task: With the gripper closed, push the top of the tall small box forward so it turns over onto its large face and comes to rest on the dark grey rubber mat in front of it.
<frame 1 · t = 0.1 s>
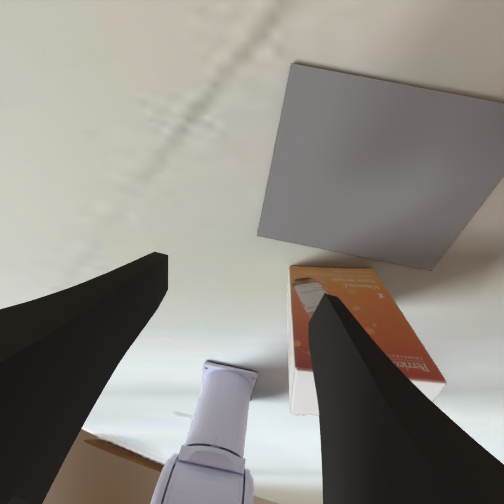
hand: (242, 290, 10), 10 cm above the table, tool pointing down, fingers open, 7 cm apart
mat: (372, 185, 16), on the table
small box: (325, 286, 22), on the table
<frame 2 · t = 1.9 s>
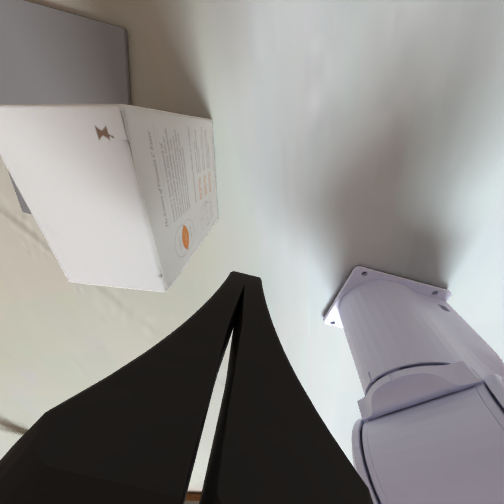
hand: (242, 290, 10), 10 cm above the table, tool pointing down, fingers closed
mat: (64, 141, 17), on the table
small box: (186, 173, 18), on the table
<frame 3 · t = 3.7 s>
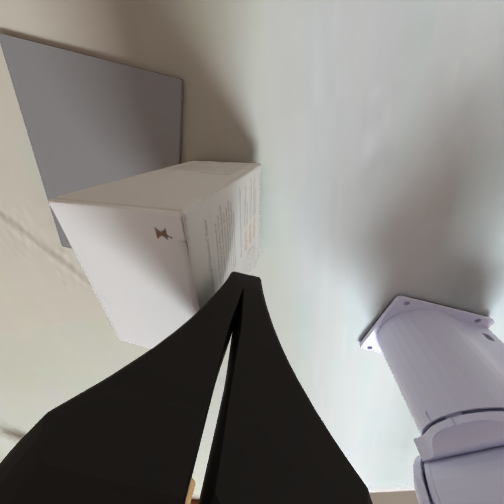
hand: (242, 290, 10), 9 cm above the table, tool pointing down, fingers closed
mat: (110, 181, 18), on the table
small box: (230, 211, 17), on the table
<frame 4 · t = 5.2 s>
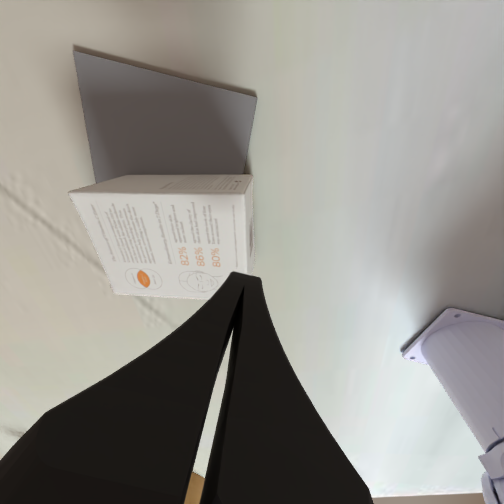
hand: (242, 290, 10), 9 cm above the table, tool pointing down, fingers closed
mat: (167, 195, 18), on the table
steamer basket: (172, 476, 62), on the table
small box: (254, 237, 15), point 3 cm above the table, touching mat
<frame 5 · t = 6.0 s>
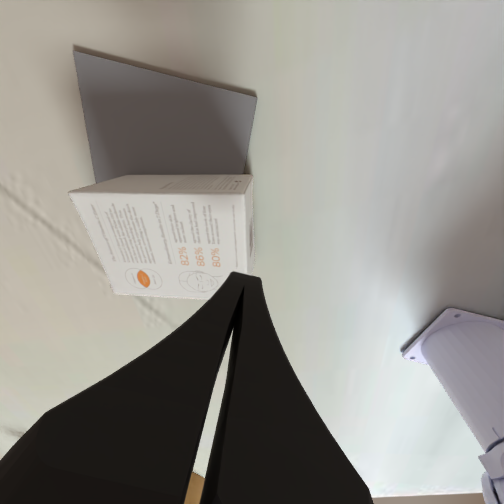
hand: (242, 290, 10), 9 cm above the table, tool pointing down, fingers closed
mat: (167, 195, 18), on the table
steamer basket: (172, 476, 62), on the table
small box: (254, 237, 15), point 3 cm above the table, touching mat
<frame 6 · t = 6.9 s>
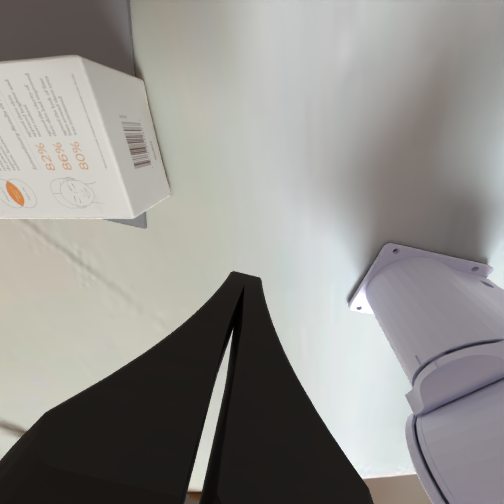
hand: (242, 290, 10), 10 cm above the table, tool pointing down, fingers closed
mat: (62, 116, 16), on the table
small box: (143, 148, 13), point 3 cm above the table, touching mat
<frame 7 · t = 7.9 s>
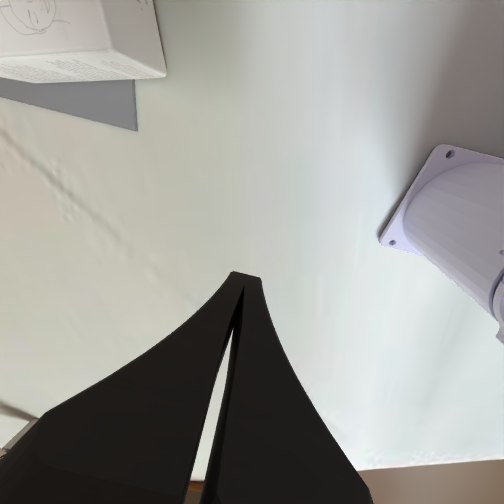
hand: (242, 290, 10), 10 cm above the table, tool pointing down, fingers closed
house plant: (38, 420, 56), on the table
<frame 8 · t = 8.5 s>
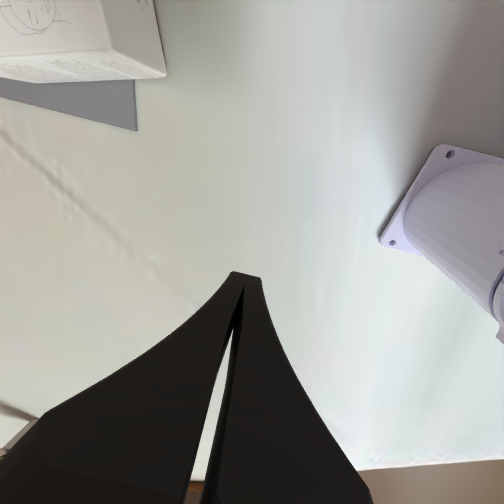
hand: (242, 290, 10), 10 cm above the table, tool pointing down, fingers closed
house plant: (38, 420, 56), on the table
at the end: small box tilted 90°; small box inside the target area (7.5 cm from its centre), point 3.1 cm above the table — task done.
